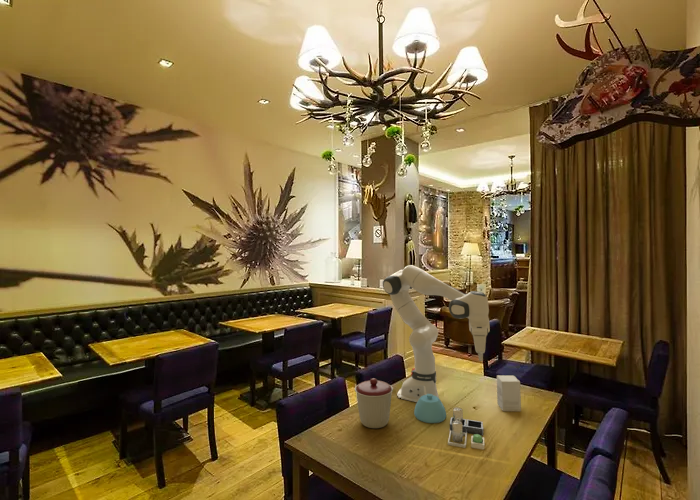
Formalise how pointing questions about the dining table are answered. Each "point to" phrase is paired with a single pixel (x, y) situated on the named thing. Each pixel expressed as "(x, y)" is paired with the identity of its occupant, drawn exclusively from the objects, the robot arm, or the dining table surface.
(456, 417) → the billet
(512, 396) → the supplement box
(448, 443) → the tote
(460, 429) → the cylinder
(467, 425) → the dark two-compartment tray
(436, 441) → the dining table surface
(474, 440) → the button
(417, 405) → the sugar bowl
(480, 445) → the box
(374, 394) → the canister
